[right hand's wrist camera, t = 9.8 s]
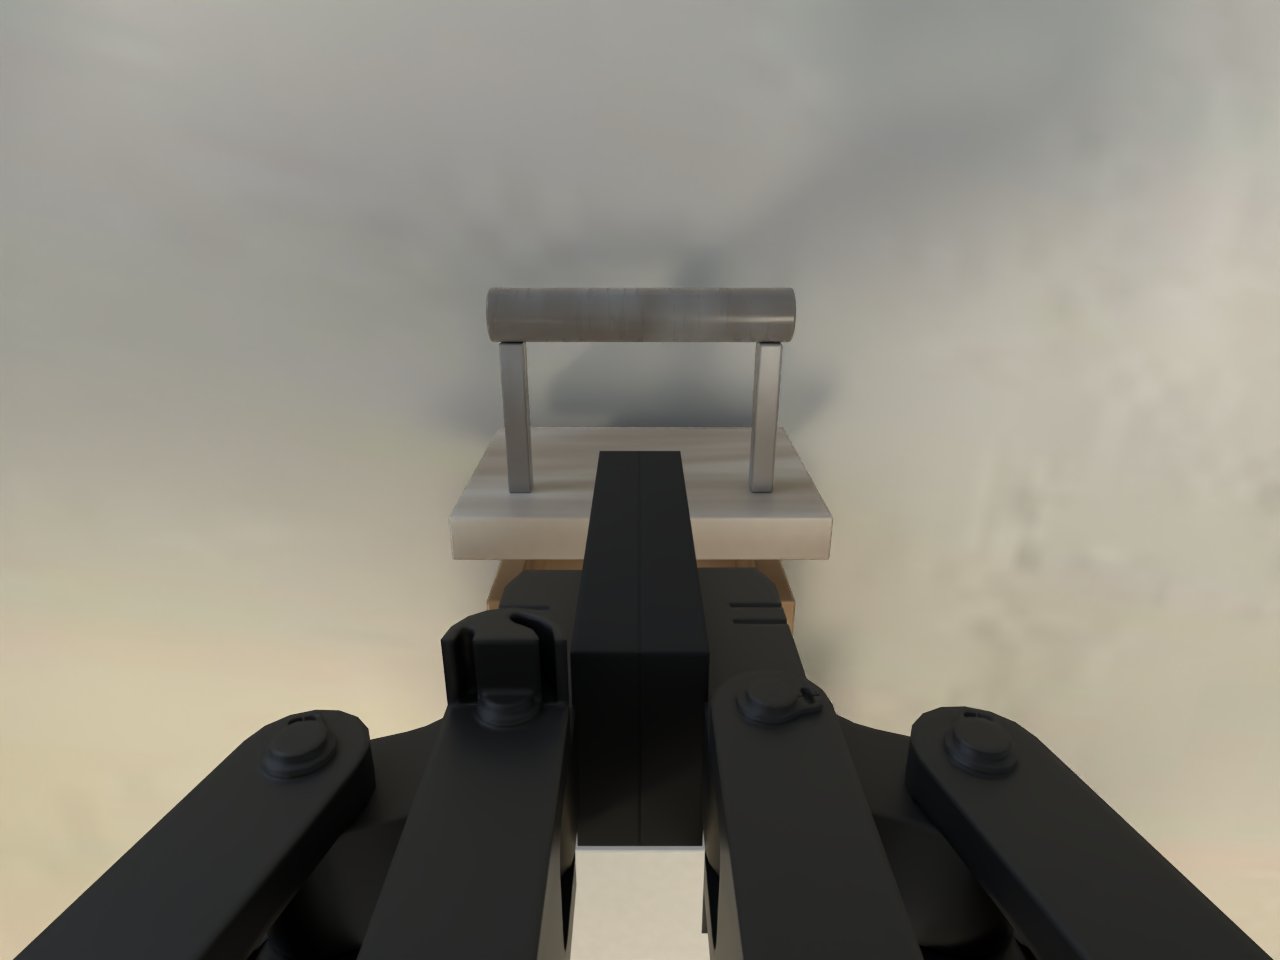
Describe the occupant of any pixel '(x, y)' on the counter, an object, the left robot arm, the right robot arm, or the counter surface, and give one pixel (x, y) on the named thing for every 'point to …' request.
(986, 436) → the counter surface
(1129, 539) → the counter surface
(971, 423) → the counter surface
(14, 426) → the counter surface
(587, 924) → the cabinet
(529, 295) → the drawer
